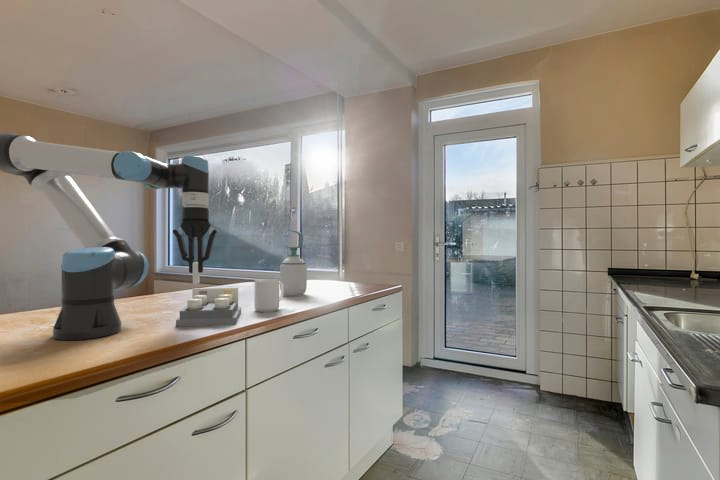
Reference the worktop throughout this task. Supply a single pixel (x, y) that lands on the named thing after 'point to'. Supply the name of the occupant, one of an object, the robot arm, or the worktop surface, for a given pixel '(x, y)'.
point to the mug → (267, 295)
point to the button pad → (211, 309)
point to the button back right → (227, 297)
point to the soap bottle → (294, 271)
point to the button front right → (222, 303)
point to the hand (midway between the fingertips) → (196, 283)
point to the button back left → (203, 297)
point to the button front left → (194, 304)
